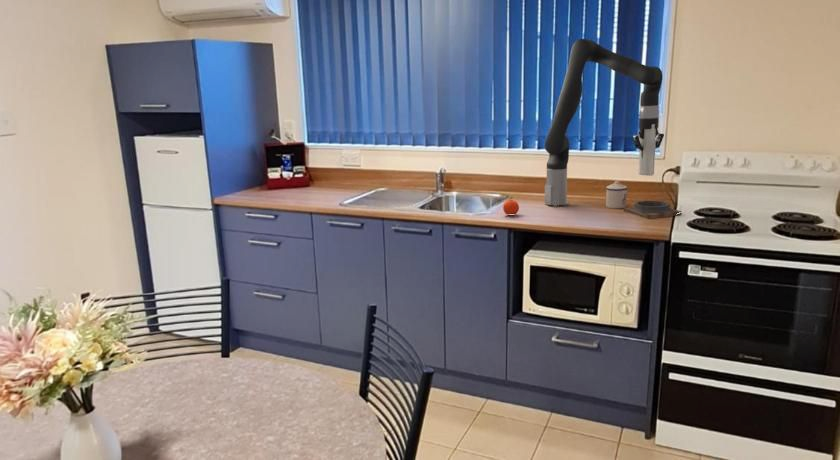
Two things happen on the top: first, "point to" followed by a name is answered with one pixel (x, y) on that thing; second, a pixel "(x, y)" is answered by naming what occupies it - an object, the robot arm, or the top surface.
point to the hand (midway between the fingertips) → (647, 158)
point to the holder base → (651, 215)
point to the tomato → (510, 207)
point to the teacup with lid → (616, 195)
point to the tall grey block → (647, 152)
